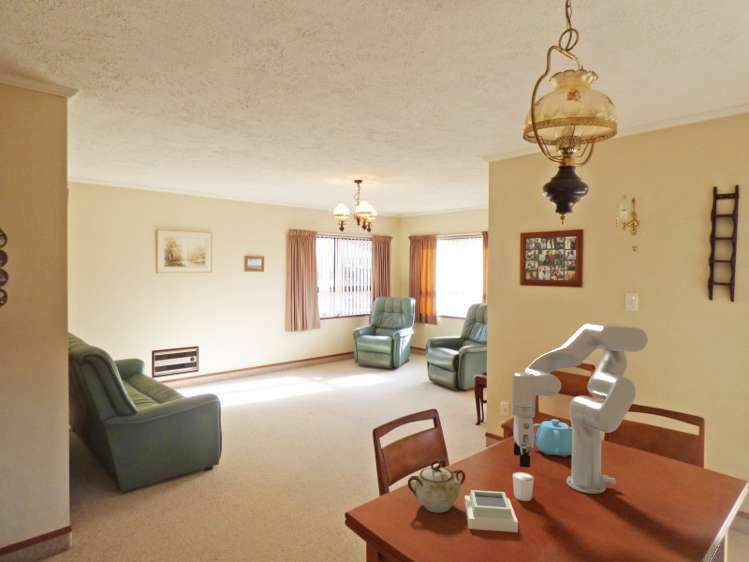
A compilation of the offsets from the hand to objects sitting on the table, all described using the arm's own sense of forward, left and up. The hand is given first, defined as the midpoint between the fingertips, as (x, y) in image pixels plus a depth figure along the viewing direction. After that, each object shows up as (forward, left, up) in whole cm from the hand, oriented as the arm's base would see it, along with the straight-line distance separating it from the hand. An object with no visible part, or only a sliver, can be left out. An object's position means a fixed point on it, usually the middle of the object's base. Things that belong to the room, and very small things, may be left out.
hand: (521, 460), depth 151 cm
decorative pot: (-23, -42, -13) cm, 50 cm away
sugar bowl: (+28, +10, -13) cm, 32 cm away
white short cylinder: (-1, 0, -13) cm, 12 cm away
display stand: (+12, +15, -12) cm, 23 cm away
